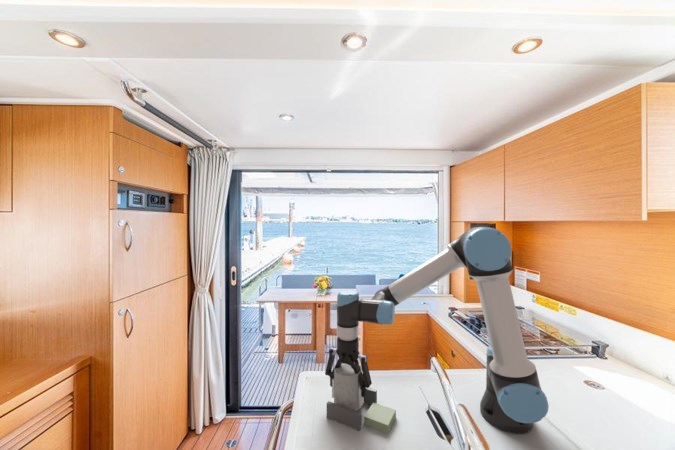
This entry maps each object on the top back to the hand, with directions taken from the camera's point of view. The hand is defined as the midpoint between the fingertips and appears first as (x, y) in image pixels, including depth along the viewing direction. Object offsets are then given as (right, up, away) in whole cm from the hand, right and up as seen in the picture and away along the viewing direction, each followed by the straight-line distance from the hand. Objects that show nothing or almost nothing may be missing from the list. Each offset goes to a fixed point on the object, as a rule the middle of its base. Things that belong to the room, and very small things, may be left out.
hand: (347, 400), depth 99 cm
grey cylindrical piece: (0, -1, 0) cm, 1 cm away
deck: (+10, -3, -6) cm, 12 cm away
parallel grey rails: (+2, -3, -1) cm, 4 cm away
